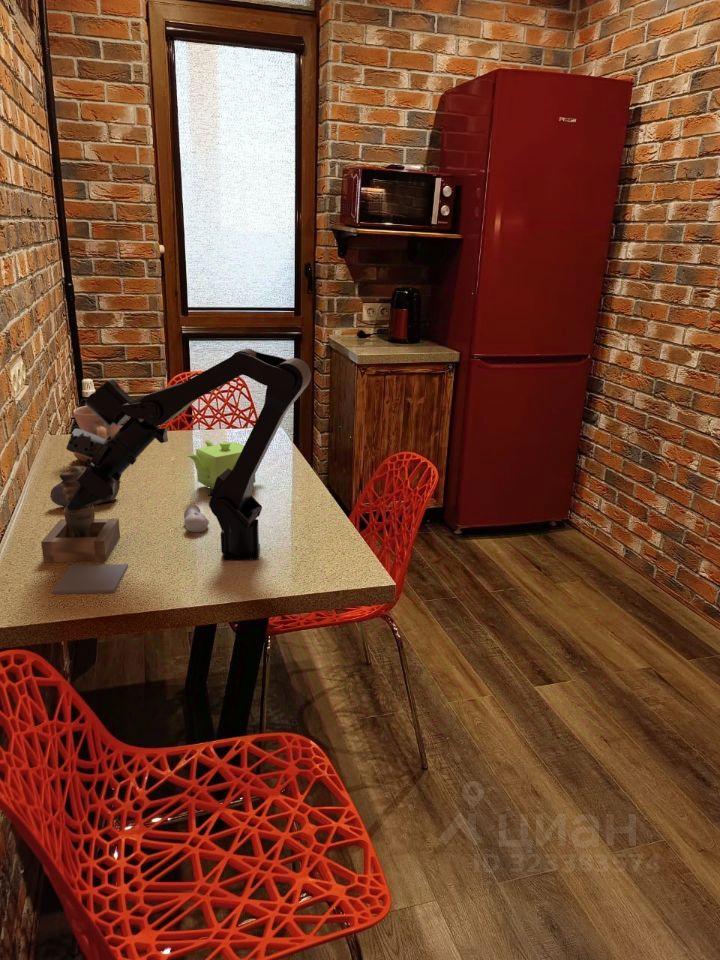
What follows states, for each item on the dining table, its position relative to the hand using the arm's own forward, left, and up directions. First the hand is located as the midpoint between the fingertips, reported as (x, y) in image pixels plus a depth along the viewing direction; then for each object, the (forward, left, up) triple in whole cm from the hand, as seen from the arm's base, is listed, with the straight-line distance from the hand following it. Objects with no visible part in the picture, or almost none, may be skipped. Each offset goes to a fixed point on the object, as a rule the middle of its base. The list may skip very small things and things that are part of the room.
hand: (71, 504), depth 129 cm
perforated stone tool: (+5, -25, -10) cm, 27 cm away
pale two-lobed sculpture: (-21, -11, -10) cm, 26 cm away
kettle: (-24, -36, -9) cm, 45 cm away
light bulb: (-1, 0, -8) cm, 8 cm away
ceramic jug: (+10, -58, -9) cm, 60 cm away
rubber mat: (-6, +13, -9) cm, 17 cm away
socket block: (-1, 0, -9) cm, 9 cm away
